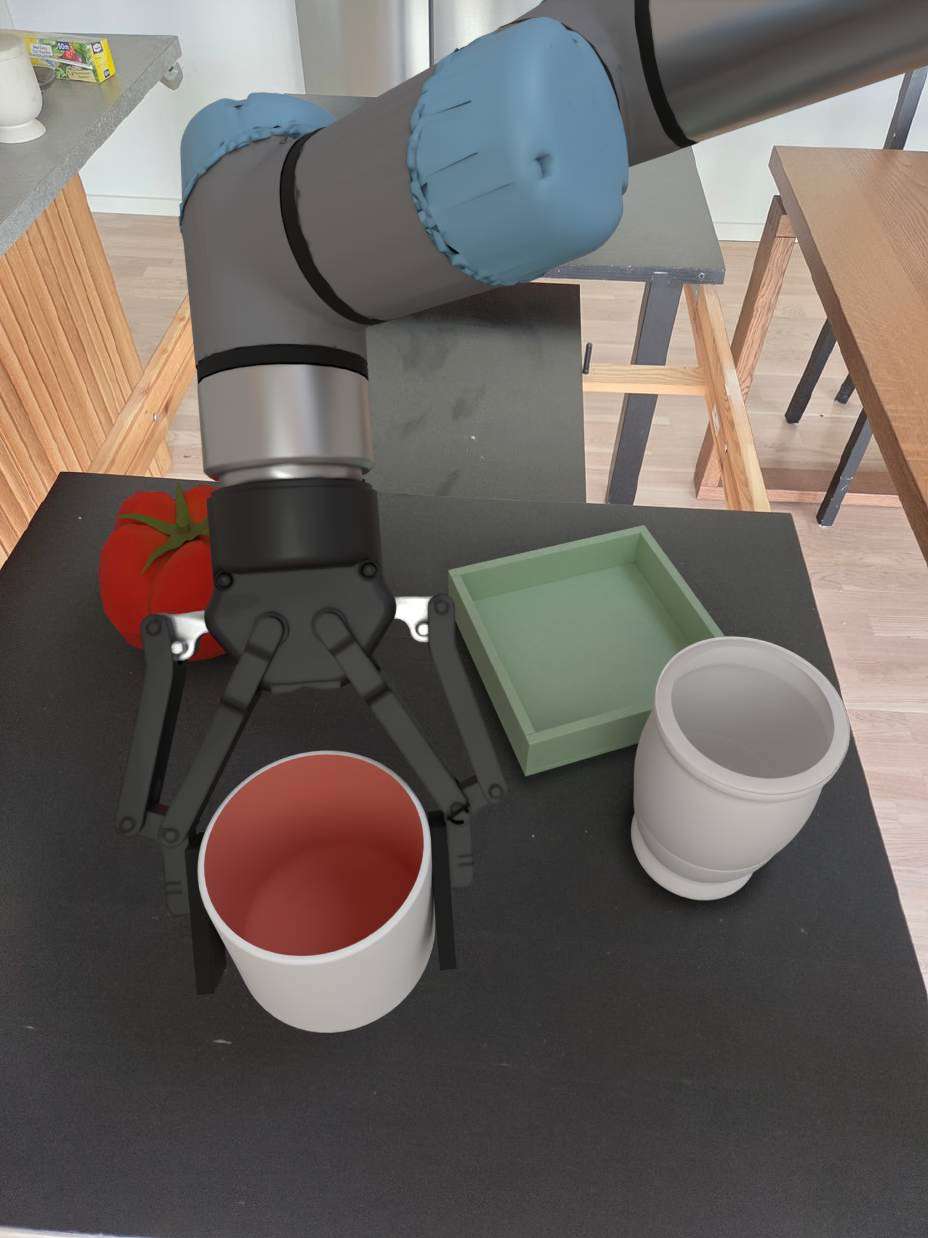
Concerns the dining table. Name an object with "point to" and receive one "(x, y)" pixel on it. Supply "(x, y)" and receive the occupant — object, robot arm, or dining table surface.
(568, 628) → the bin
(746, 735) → the jar
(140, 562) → the tomato
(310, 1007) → the cup
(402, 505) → the dining table surface
